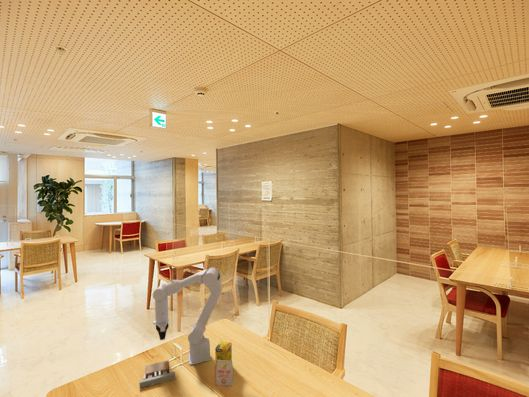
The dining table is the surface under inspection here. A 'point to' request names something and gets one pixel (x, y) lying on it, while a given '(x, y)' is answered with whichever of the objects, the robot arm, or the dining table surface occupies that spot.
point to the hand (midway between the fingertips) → (162, 339)
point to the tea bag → (224, 373)
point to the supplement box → (223, 351)
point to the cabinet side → (157, 379)
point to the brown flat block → (157, 369)
